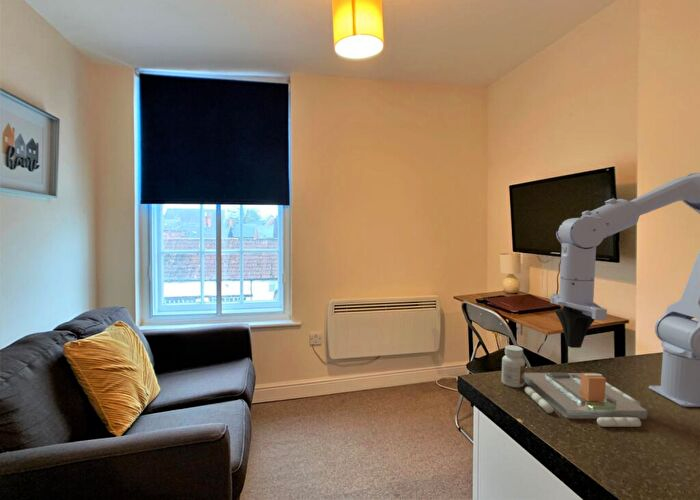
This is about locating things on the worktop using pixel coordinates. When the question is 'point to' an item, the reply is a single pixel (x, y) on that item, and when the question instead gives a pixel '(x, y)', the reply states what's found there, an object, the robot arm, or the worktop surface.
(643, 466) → the worktop surface
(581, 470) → the worktop surface
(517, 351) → the pill bottle
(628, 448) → the worktop surface
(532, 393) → the rod
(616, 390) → the cable near base
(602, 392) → the lever
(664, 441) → the worktop surface
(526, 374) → the breaker panel
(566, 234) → the robot arm
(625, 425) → the rod
